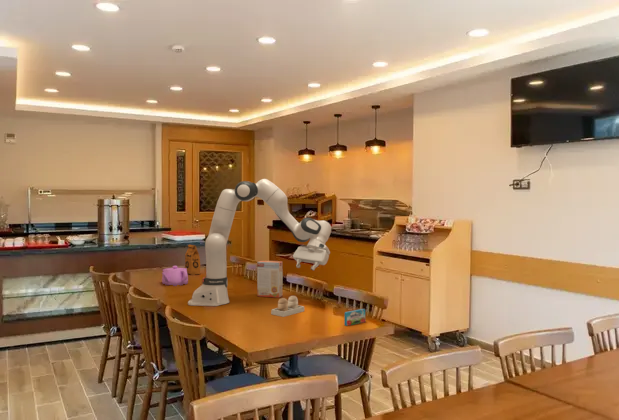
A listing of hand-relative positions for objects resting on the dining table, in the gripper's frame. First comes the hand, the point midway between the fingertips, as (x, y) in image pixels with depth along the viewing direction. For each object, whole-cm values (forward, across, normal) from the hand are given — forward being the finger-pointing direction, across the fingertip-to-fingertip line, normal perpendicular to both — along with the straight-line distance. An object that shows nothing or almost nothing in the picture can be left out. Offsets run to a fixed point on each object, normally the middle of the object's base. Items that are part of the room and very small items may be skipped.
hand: (304, 268), depth 271 cm
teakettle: (+16, -110, +24) cm, 114 cm away
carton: (+27, +3, 0) cm, 27 cm away
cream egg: (+24, +3, +3) cm, 24 cm away
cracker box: (+10, -32, +24) cm, 41 cm away
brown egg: (+29, +2, -3) cm, 29 cm away
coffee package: (-7, -132, +54) cm, 143 cm away
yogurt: (+24, +40, +1) cm, 47 cm away
